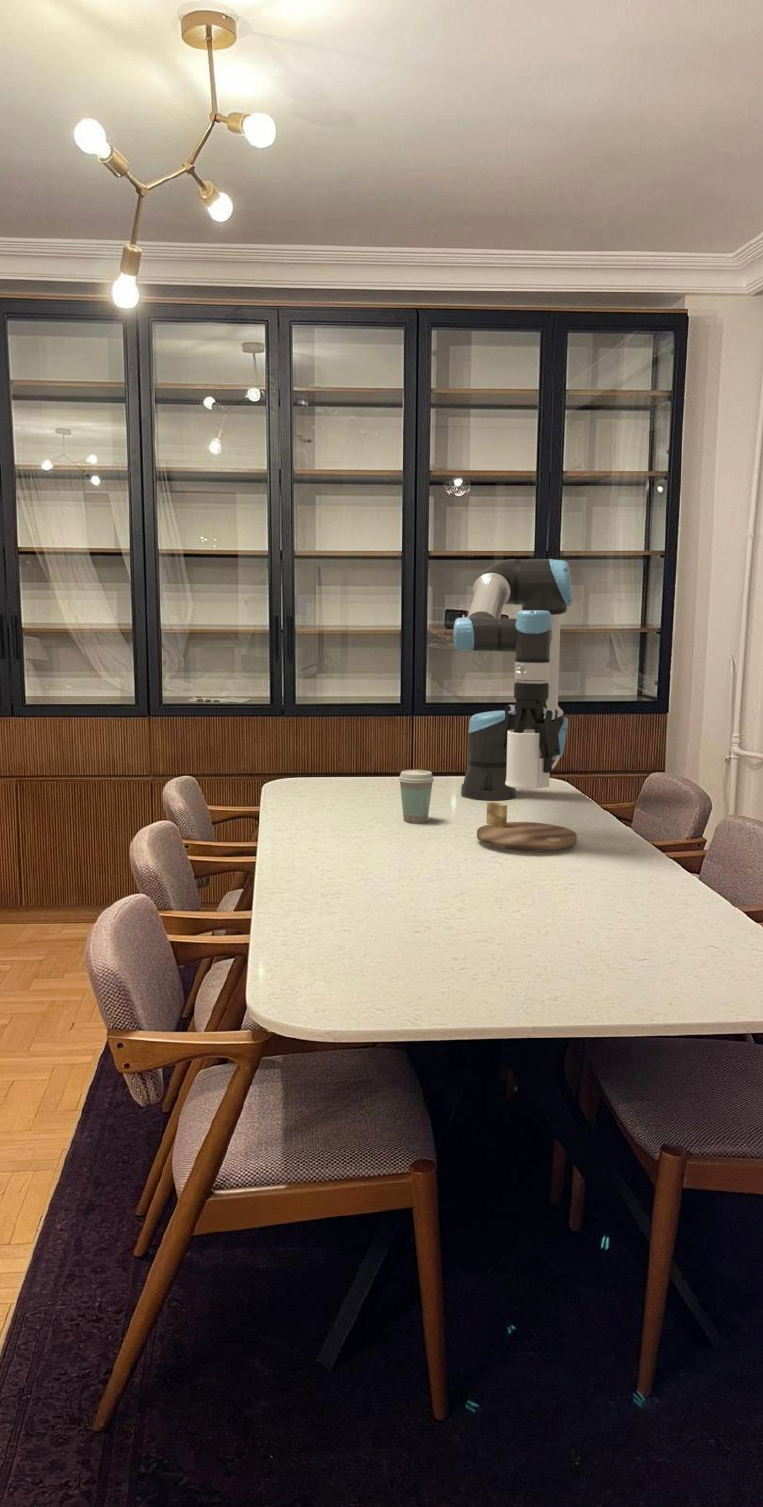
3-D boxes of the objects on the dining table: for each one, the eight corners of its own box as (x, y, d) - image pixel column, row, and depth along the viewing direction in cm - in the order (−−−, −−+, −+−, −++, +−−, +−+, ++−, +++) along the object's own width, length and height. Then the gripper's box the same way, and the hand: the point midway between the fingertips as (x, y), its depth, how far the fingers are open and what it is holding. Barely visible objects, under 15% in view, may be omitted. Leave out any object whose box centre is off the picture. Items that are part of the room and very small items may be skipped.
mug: (555, 782, 233) (557, 729, 231) (562, 789, 225) (563, 734, 223) (503, 782, 233) (504, 728, 231) (507, 788, 225) (508, 733, 223)
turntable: (597, 840, 230) (598, 812, 229) (528, 855, 216) (529, 825, 215) (521, 822, 247) (522, 796, 246) (453, 834, 234) (454, 807, 233)
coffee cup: (433, 824, 250) (434, 775, 248) (398, 824, 250) (398, 774, 248) (432, 817, 258) (433, 769, 256) (398, 816, 258) (398, 769, 256)
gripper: (485, 679, 232) (482, 778, 235) (556, 685, 216) (552, 793, 219) (508, 677, 237) (505, 775, 240) (580, 684, 220) (576, 789, 224)
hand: (528, 783), depth 229 cm, fingers closed on mug, 8 cm apart
